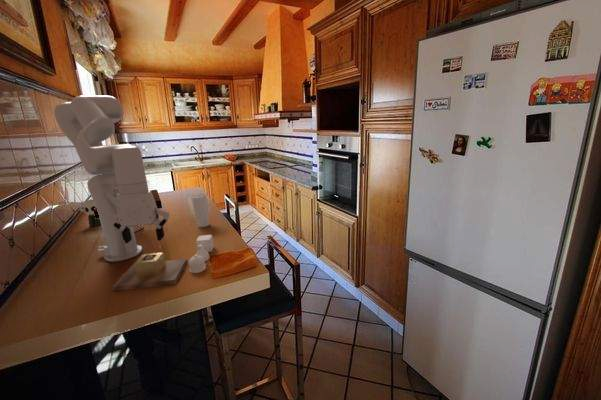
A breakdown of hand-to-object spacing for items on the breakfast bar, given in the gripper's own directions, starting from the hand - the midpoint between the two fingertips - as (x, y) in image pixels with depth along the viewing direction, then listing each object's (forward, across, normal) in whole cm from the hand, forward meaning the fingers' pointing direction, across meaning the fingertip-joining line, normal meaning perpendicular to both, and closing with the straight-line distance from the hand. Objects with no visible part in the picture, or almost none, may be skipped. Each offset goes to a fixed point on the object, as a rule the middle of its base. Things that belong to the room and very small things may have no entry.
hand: (144, 240), depth 89 cm
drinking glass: (+14, +8, +44) cm, 47 cm away
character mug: (+15, -50, +62) cm, 81 cm away
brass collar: (+11, +1, -1) cm, 11 cm away
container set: (+13, +14, +8) cm, 21 cm away
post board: (+12, +1, -1) cm, 12 cm away
